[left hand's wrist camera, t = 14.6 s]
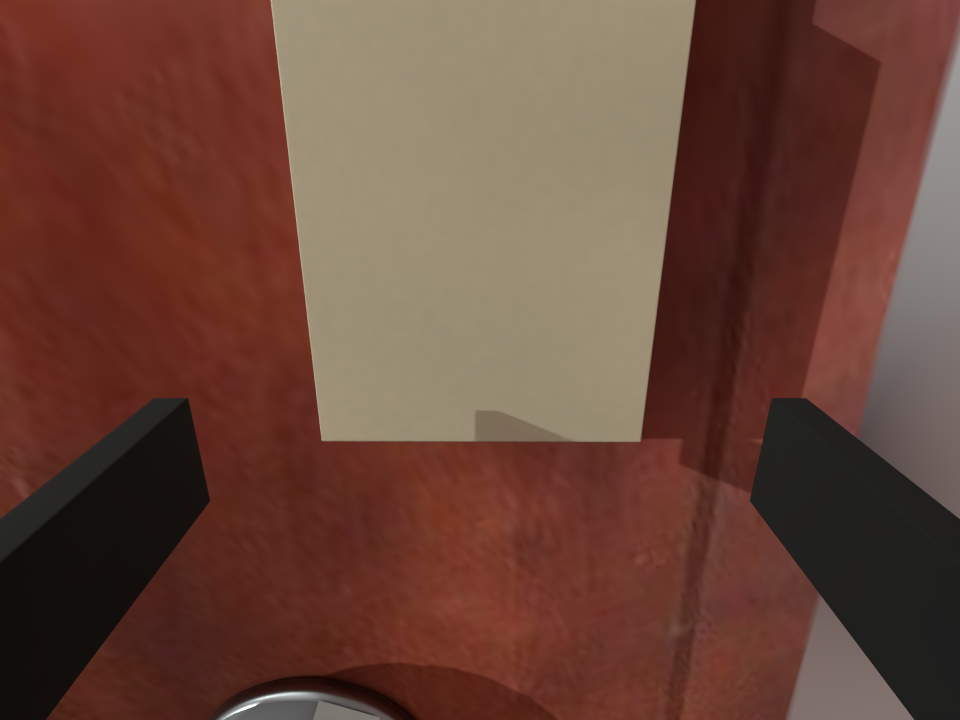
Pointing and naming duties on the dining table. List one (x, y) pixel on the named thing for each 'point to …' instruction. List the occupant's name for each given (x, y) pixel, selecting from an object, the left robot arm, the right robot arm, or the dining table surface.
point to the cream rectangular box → (482, 210)
